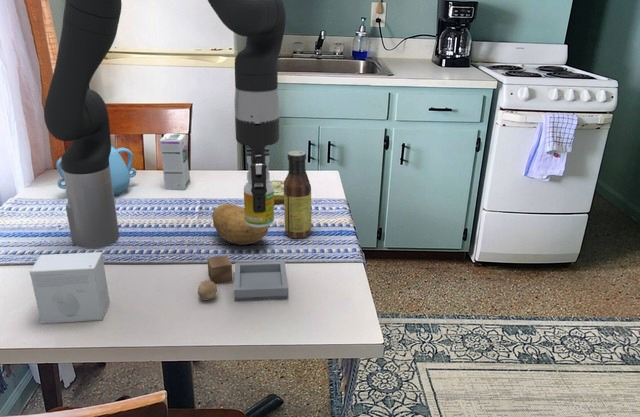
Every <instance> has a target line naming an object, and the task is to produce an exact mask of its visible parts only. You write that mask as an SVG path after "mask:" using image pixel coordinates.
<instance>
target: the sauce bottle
mask: <svg viewBox="0 0 640 417" xmlns="http://www.w3.org/2000/svg"><path fill="white" fill-rule="evenodd" d="M306 160H307V153H306V152H305V151H303V150H290V151H288V152H287V161H288V172H287V175H286V177H285V178H284V180H283V181H284V203H283V208H284V213H283V214H284V216H283V217H284V229H285V230H284V232H285V234H286V236H288V237H289V238H292V239H298V240H299V239H304V238H307V237H309V236H310V235H311V233H312V186H311V183H310V180H309V177H308V174H307V171H306Z"/></svg>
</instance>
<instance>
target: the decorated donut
mask: <svg viewBox="0 0 640 417" xmlns="http://www.w3.org/2000/svg"><path fill="white" fill-rule="evenodd" d="M284 181H285V180H275V179H274V180H269V182H270V183H272V185H273V187H274V204H284Z"/></svg>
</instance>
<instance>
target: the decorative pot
mask: <svg viewBox="0 0 640 417" xmlns="http://www.w3.org/2000/svg"><path fill="white" fill-rule="evenodd" d="M120 153H127V154H128V160H127V164H126V163H125V161H124V159H123V157H122V156H121V155H120ZM61 158H62V156H61V157H60V158H59V159H58V160H56V163H55V164H56V165H55V166H56V169H57V171H58V173H59V175H60V176H61V178H60V179H58V180H57V187H58V188H60V189H63V190H66V185H65V184H63V182H64V183H65V180H64V174H63V168H62V162H61ZM133 160H134V155H133V153H132V151H131V150H130V149H128V148H126V147H119V148H115V147H114V146H113V145H111V153H110V156H109V164H110V172H111V179H112V186H113V193H114V196H119V195H121V193H122V192H124V191H126V189H127V188H128V186H129V184H130V182H131V178H134V177H135V176H136V175H137V170H136V168H134V167H132V165H133ZM131 172H132V173H131Z"/></svg>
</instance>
